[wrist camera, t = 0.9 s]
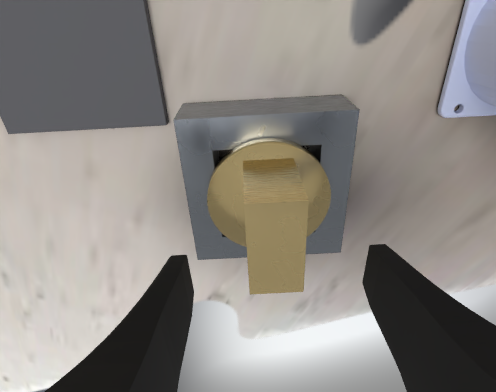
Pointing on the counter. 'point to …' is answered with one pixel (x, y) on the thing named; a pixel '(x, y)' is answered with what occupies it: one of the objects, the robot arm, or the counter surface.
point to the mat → (78, 66)
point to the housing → (260, 127)
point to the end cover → (270, 208)
